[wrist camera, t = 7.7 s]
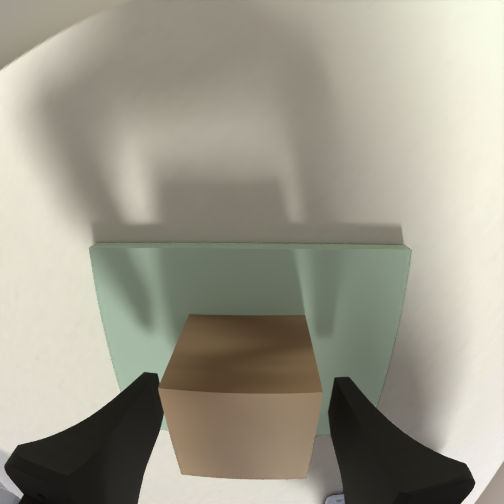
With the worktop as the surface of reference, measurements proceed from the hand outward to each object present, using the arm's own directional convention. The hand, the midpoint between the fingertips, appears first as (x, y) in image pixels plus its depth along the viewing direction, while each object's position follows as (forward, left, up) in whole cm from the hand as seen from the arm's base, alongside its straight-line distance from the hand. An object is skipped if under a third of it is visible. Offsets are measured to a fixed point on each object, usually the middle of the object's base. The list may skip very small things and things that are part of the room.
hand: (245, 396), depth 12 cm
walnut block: (0, 0, -2) cm, 2 cm away
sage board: (0, 0, -3) cm, 3 cm away
